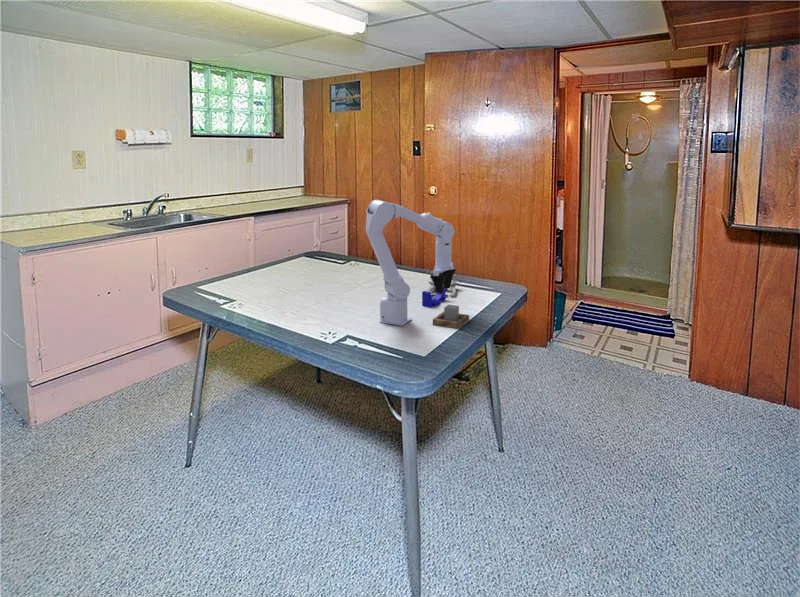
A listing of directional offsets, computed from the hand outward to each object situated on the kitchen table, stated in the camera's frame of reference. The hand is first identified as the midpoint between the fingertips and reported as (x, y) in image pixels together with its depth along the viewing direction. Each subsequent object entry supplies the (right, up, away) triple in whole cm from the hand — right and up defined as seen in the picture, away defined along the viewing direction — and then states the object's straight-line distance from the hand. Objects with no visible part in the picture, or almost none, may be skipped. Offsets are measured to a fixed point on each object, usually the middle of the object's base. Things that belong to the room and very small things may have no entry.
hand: (443, 290), depth 198 cm
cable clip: (-2, -5, +17) cm, 18 cm away
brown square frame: (+2, -12, -6) cm, 13 cm away
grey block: (+2, -12, -6) cm, 13 cm away
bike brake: (+2, -2, +30) cm, 30 cm away
